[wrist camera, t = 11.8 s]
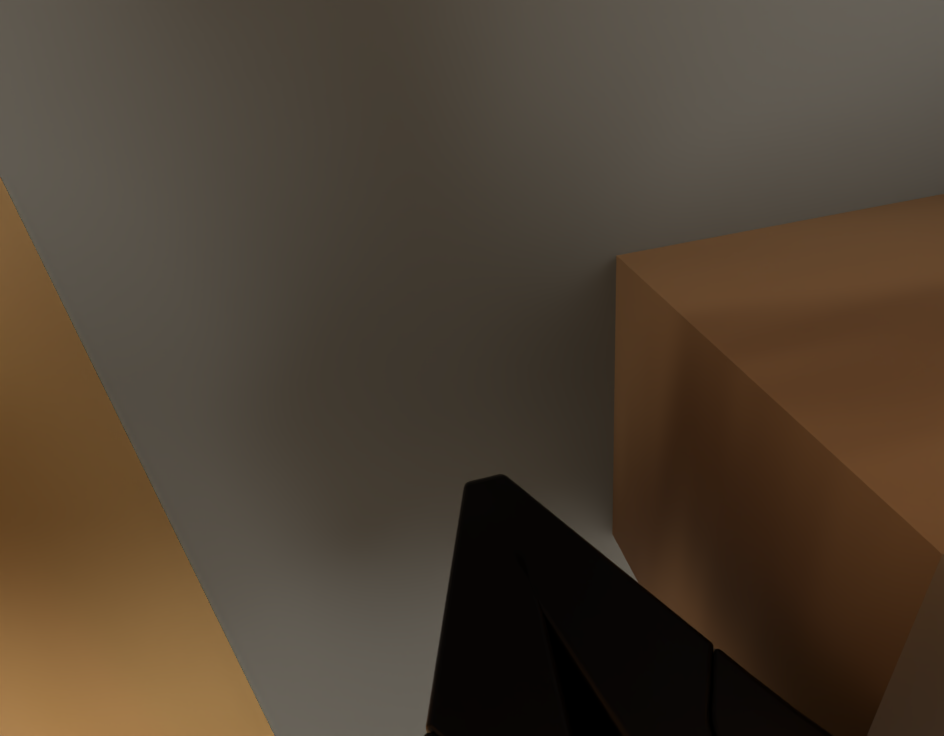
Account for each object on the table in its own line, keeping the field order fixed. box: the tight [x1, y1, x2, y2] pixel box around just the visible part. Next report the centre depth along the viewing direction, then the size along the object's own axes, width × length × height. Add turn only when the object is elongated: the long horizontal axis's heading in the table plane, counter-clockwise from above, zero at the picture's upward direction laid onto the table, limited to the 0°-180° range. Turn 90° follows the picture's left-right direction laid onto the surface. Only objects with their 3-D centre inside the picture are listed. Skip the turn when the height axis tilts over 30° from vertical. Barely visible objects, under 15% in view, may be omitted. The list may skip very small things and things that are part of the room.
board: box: [0, 0, 944, 736], centre depth 9 cm, size 15×18×5 cm
